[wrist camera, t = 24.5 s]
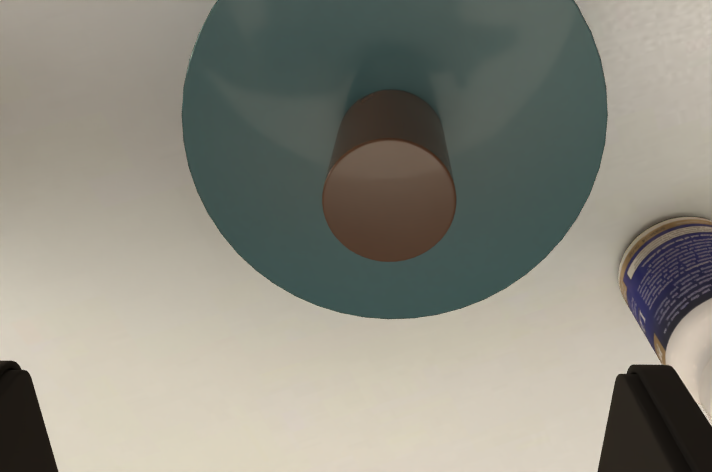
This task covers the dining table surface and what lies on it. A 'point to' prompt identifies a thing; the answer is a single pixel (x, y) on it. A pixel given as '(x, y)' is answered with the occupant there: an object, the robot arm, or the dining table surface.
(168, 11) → the dining table surface
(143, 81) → the dining table surface
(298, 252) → the lid
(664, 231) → the pill bottle
